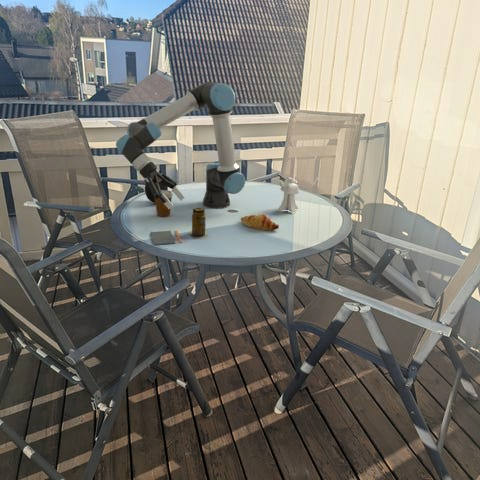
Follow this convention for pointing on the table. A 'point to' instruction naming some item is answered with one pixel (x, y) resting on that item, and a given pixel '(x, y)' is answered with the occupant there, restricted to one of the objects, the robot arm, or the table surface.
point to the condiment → (198, 223)
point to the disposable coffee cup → (160, 206)
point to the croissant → (259, 222)
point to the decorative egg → (149, 194)
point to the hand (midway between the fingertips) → (177, 203)
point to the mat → (162, 237)
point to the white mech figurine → (289, 194)
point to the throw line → (178, 237)
